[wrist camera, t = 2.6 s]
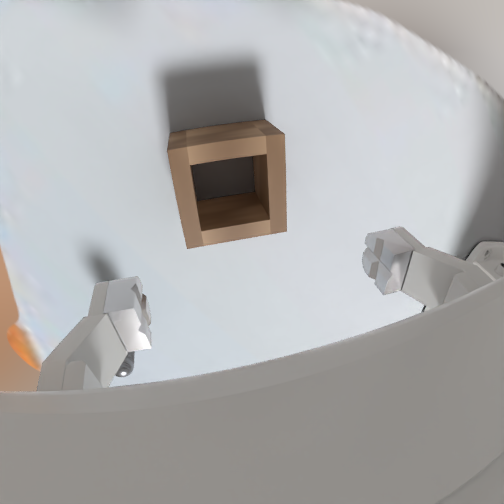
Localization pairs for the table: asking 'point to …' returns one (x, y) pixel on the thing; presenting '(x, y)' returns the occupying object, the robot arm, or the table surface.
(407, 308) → the table surface
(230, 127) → the collar
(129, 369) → the post
